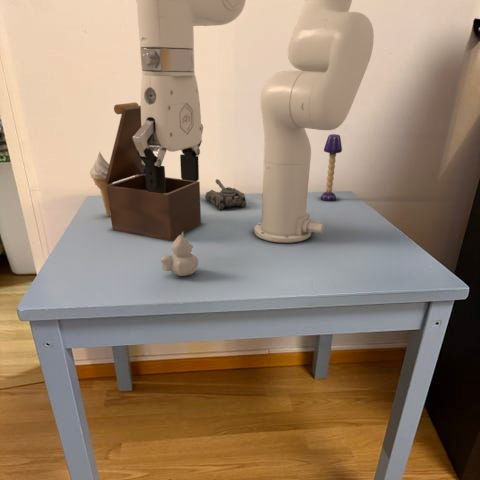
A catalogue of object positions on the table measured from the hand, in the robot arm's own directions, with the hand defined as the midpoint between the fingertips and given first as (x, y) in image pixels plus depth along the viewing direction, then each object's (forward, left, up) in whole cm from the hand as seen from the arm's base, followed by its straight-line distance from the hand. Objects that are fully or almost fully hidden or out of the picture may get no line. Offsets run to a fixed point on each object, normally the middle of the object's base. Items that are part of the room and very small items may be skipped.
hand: (174, 185), depth 73 cm
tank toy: (+13, -44, -16) cm, 49 cm away
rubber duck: (0, 0, -16) cm, 16 cm away
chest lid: (+22, -20, +2) cm, 30 cm away
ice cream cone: (+33, -21, -16) cm, 43 cm away
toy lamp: (-10, -61, -16) cm, 64 cm away
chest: (+18, -20, -16) cm, 31 cm away
